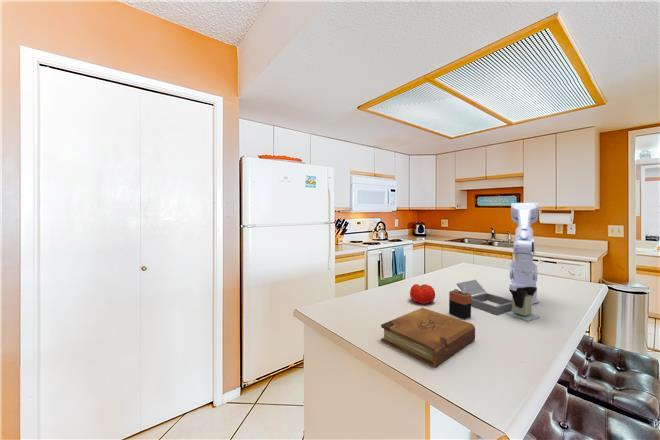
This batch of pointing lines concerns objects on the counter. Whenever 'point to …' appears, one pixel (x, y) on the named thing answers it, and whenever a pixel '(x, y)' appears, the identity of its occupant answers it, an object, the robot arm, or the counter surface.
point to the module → (526, 306)
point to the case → (485, 298)
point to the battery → (460, 304)
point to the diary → (428, 335)
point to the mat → (526, 317)
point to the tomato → (422, 293)
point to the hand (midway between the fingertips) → (522, 306)
